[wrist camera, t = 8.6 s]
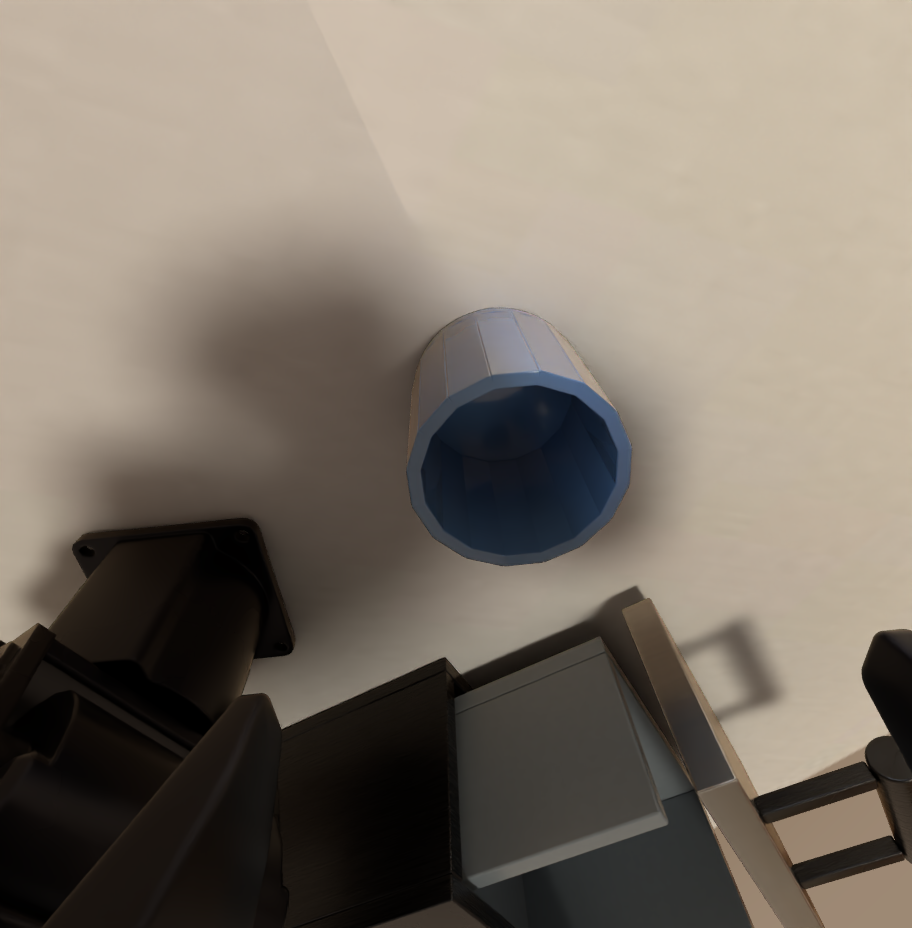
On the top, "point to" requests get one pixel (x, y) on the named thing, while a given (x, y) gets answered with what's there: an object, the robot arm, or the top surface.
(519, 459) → the espresso cup
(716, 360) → the top surface
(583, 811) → the dish drawer
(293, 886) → the small drawer cabinet
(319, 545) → the top surface
